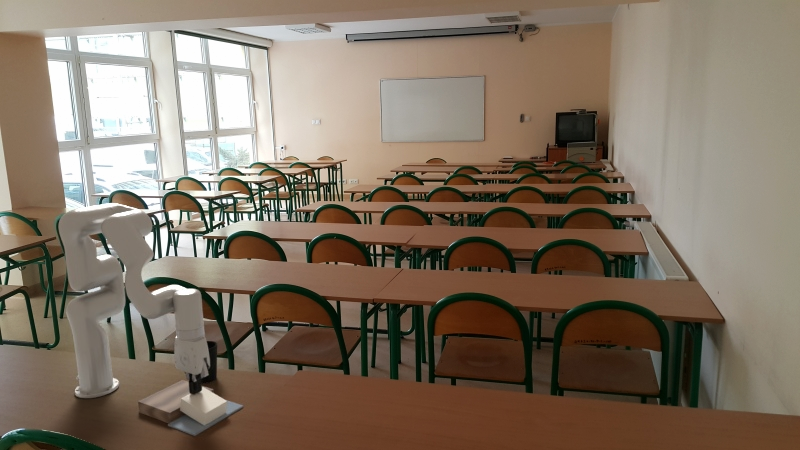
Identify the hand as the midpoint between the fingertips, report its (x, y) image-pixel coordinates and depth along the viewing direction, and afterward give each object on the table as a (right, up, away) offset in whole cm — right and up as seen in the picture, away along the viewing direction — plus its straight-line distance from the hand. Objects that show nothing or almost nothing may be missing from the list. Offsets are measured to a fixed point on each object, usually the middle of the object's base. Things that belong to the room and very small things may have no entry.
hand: (195, 392), depth 168 cm
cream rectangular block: (+3, -5, -1) cm, 6 cm away
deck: (-7, -6, +6) cm, 11 cm away
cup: (-4, -3, +23) cm, 24 cm away
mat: (+3, -7, -1) cm, 8 cm away
